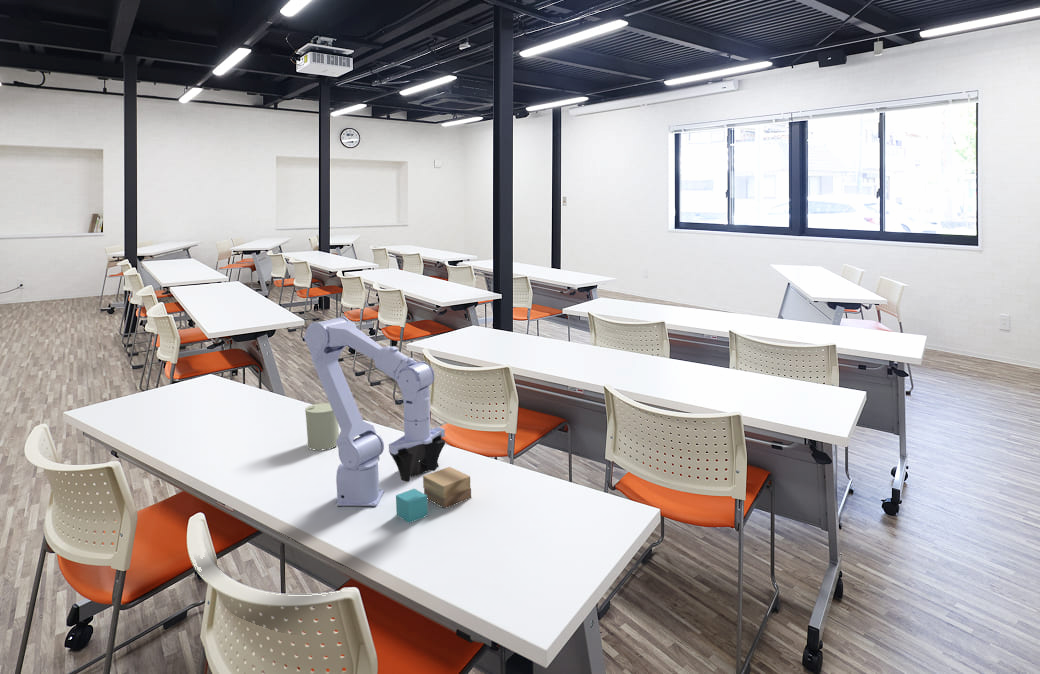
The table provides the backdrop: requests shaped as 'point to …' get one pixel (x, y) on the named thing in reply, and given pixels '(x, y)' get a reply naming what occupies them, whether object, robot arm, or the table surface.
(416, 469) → the phone stand
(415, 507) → the teal cube
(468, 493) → the tower base
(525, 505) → the table surface
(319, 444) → the can
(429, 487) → the tower top
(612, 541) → the table surface
